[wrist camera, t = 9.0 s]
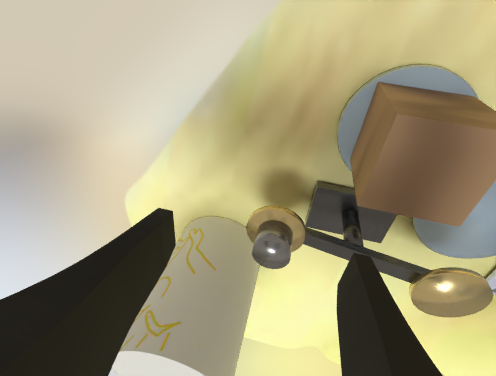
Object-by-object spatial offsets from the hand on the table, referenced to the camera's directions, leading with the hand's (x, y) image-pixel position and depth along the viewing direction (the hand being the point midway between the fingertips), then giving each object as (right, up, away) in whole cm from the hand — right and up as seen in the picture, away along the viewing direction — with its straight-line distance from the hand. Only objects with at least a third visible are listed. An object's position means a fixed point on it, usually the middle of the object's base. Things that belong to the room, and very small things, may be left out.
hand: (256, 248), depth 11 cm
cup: (-3, -3, +17) cm, 17 cm away
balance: (+8, +1, +11) cm, 13 cm away
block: (+9, +6, +6) cm, 12 cm away
